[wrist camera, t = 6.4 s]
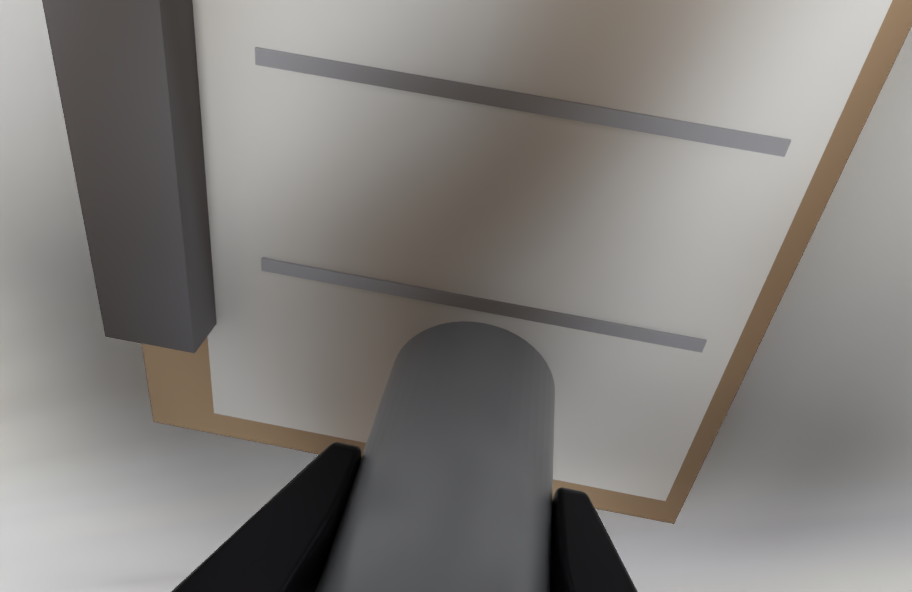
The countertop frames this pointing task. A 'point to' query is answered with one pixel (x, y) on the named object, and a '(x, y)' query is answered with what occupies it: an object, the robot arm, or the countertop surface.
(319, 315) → the clipboard
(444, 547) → the marker
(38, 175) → the countertop surface
